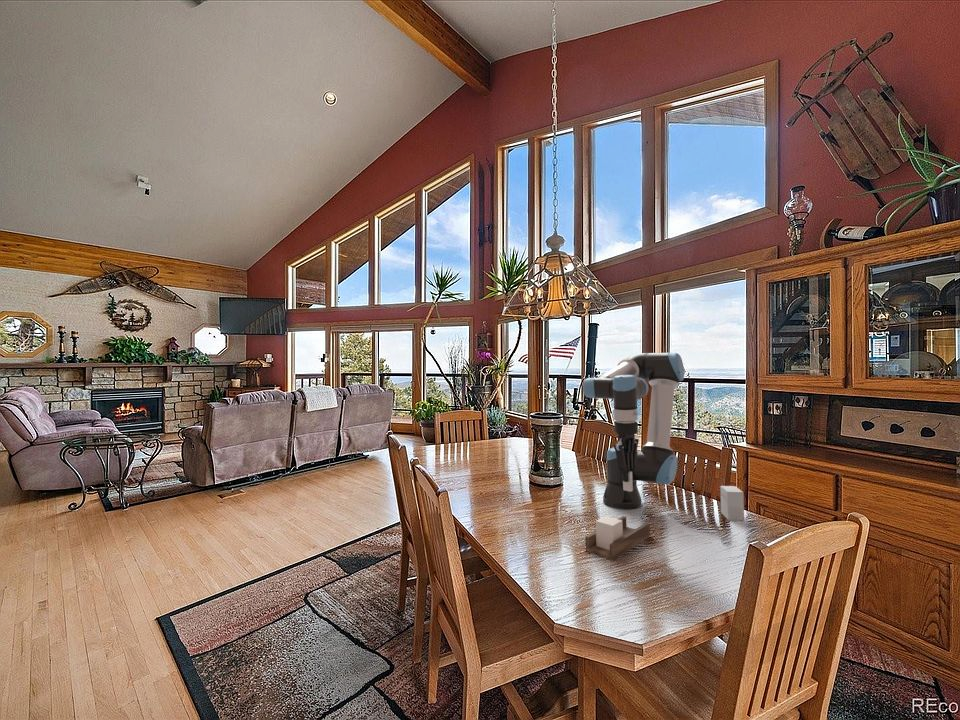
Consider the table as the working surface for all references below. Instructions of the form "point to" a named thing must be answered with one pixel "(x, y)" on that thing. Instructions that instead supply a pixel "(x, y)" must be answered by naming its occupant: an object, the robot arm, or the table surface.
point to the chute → (619, 541)
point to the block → (608, 531)
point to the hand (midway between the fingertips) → (627, 490)
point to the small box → (732, 502)
